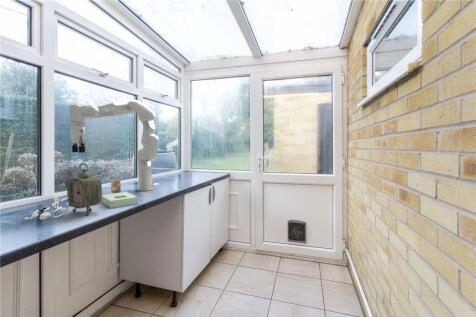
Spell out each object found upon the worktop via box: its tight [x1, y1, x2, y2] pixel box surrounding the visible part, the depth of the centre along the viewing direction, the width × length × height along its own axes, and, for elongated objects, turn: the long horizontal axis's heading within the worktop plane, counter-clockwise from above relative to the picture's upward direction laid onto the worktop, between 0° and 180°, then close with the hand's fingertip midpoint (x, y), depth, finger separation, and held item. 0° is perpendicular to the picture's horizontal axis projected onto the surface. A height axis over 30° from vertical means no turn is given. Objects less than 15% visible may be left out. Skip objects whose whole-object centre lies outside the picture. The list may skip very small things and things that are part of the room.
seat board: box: [100, 191, 138, 209], centre depth 134 cm, size 14×20×4 cm
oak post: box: [110, 179, 122, 194], centre depth 148 cm, size 4×4×11 cm
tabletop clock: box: [66, 162, 103, 216], centre depth 114 cm, size 14×9×25 cm, turn 64°
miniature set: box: [23, 196, 75, 221], centre depth 118 cm, size 6×35×12 cm
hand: (78, 152), depth 143 cm, fingers open, 9 cm apart
